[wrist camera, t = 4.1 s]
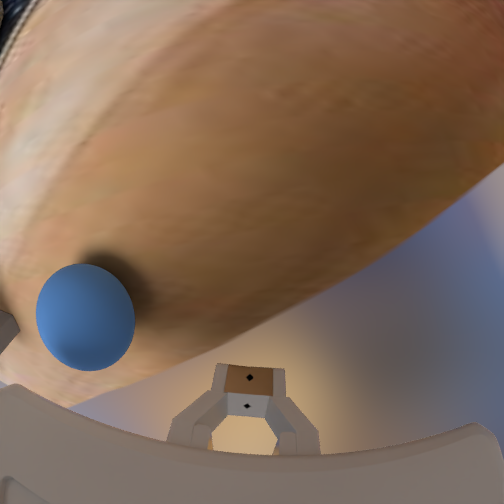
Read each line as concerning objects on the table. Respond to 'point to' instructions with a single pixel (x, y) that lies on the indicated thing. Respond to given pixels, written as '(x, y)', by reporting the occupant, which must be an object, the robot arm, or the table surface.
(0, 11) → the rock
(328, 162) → the table surface
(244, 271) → the table surface
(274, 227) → the table surface
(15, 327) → the bridge
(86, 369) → the ball
